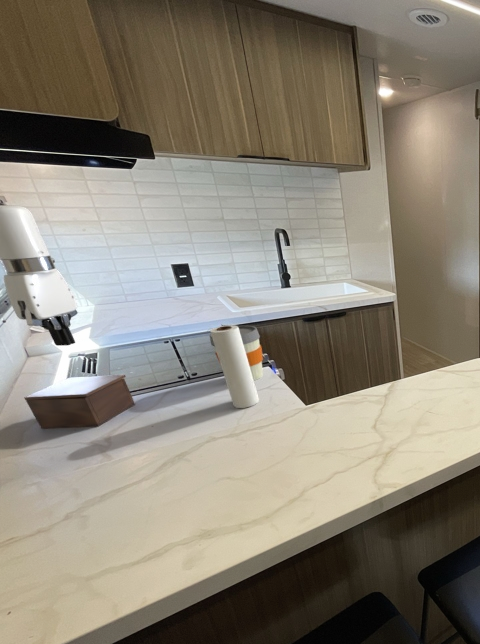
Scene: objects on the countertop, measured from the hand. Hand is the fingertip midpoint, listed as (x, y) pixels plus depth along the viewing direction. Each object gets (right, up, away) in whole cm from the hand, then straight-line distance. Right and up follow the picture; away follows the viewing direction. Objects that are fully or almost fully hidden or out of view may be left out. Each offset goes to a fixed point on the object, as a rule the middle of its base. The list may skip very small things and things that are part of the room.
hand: (65, 344), depth 96 cm
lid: (-2, -11, +5) cm, 12 cm away
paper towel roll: (+35, -15, +13) cm, 41 cm away
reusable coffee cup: (+25, -8, +29) cm, 39 cm away
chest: (-2, -18, +8) cm, 20 cm away
